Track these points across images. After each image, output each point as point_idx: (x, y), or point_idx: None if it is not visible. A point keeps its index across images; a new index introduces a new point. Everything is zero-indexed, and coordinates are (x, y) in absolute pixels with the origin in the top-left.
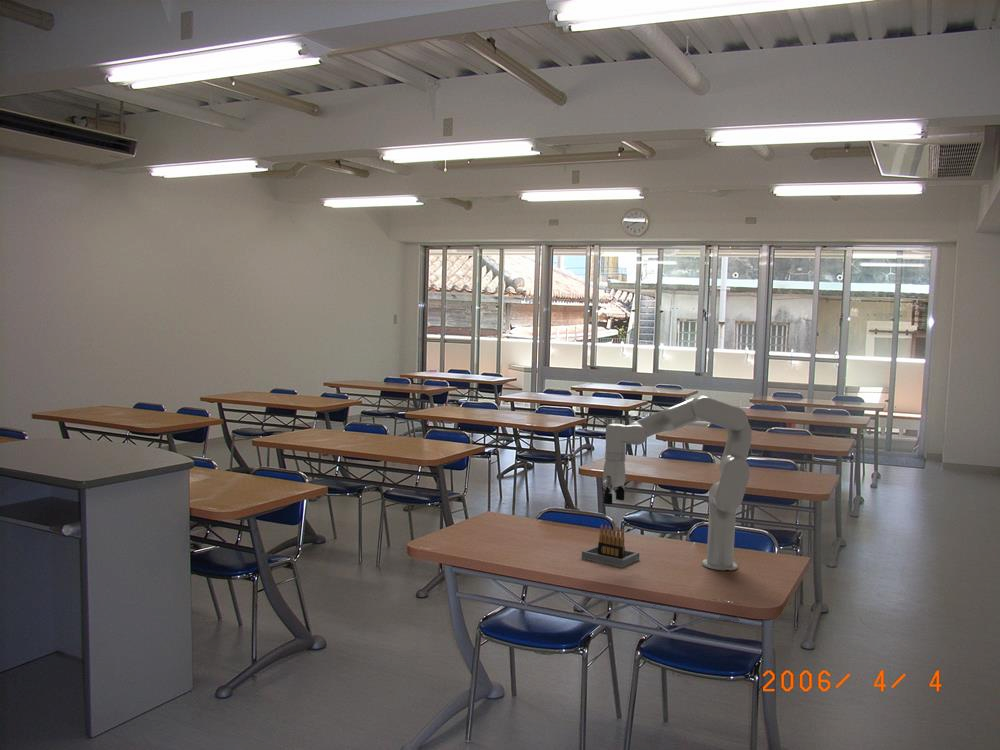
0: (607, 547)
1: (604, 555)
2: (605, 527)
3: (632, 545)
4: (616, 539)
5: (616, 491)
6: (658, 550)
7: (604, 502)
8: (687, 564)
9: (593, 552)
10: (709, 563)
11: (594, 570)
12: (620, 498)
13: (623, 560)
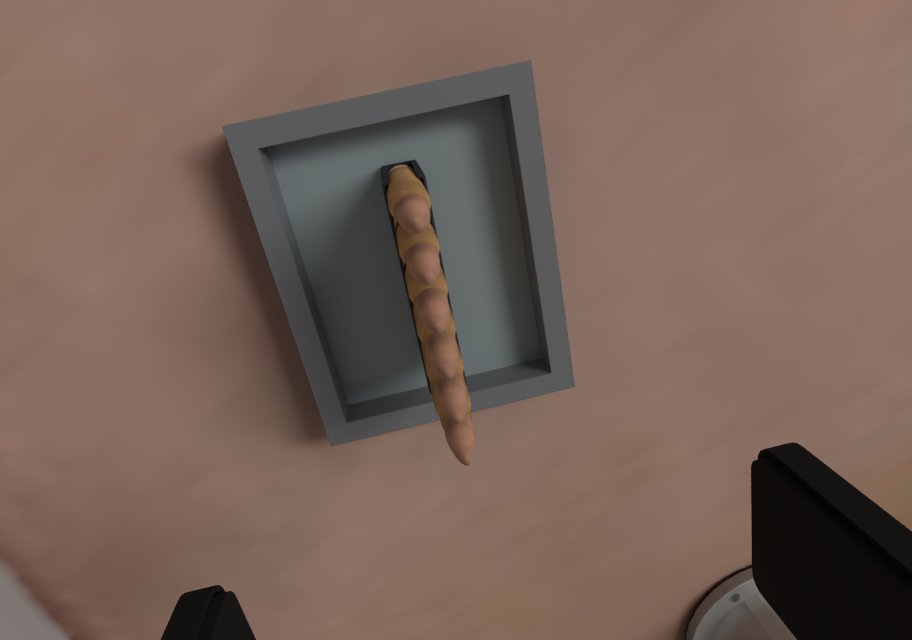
0: (403, 263)
1: (308, 307)
2: (412, 276)
3: (841, 111)
4: (425, 366)
5: (910, 606)
6: (834, 298)
7: (184, 614)
8: (679, 543)
9: (383, 121)
10: (720, 626)
11: (118, 377)
12: (773, 562)
13: (342, 441)
